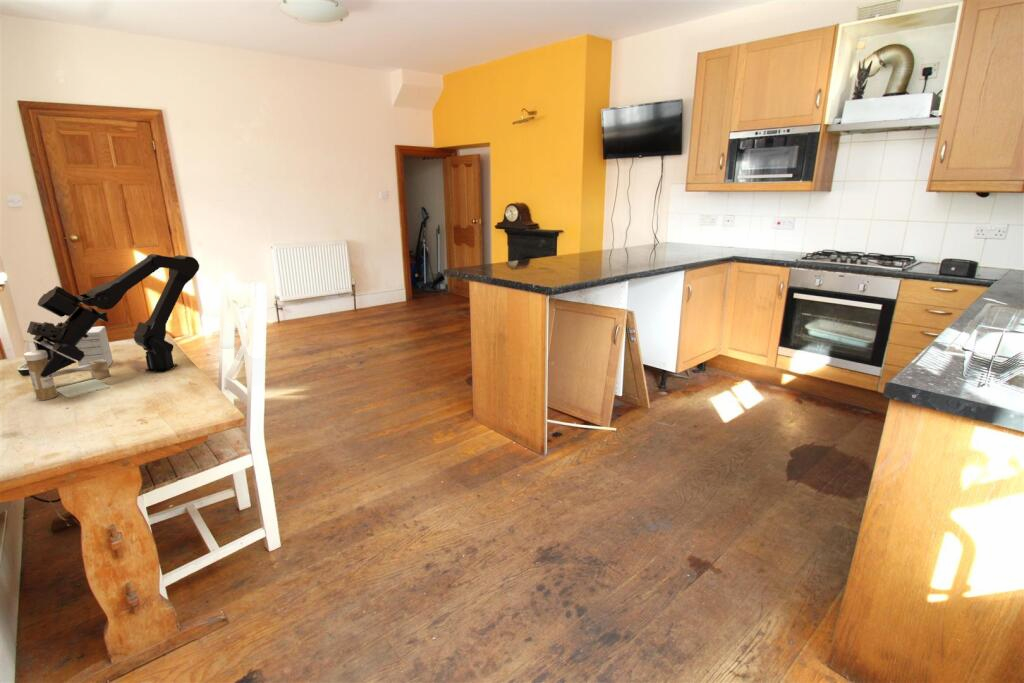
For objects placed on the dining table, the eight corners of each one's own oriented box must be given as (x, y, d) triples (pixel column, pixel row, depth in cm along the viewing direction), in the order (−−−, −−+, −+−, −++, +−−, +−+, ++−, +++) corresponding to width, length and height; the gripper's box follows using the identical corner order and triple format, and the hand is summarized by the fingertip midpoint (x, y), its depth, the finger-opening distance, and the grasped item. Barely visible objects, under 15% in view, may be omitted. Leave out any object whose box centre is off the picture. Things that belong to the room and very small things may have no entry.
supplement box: (86, 364, 165) (77, 327, 162) (113, 361, 168) (105, 325, 165) (79, 371, 159) (69, 333, 155) (107, 368, 162) (99, 331, 158)
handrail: (105, 373, 157) (102, 358, 156) (110, 376, 156) (106, 360, 154) (35, 390, 144) (30, 373, 142) (39, 393, 142) (34, 376, 140)
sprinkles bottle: (56, 398, 139) (44, 352, 135) (34, 402, 136) (21, 355, 132) (59, 393, 142) (47, 348, 138) (38, 396, 140) (25, 350, 136)
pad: (96, 379, 152) (95, 378, 152) (110, 387, 147) (109, 385, 147) (54, 390, 144) (53, 388, 144) (67, 398, 139) (67, 396, 139)
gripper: (34, 305, 141) (-9, 351, 135) (59, 315, 131) (13, 365, 125) (75, 326, 149) (36, 371, 144) (101, 337, 140) (60, 385, 134)
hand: (36, 372), depth 136 cm, fingers open, 9 cm apart
